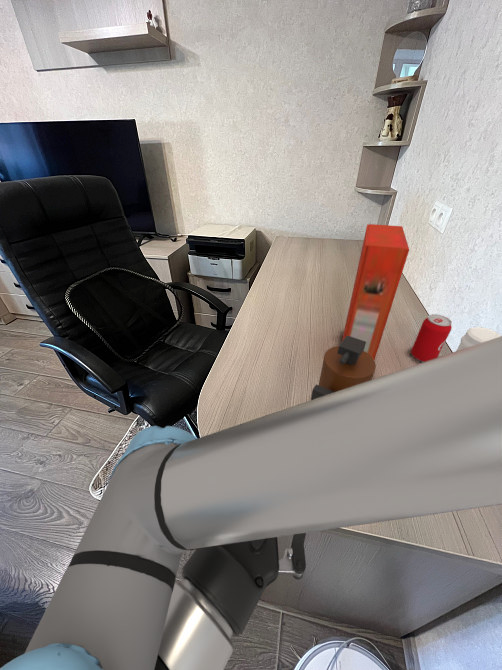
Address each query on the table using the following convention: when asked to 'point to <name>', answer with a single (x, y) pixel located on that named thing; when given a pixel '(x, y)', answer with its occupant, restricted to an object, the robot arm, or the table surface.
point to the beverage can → (431, 337)
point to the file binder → (376, 284)
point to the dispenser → (346, 365)
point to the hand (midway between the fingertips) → (314, 429)
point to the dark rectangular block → (319, 392)
